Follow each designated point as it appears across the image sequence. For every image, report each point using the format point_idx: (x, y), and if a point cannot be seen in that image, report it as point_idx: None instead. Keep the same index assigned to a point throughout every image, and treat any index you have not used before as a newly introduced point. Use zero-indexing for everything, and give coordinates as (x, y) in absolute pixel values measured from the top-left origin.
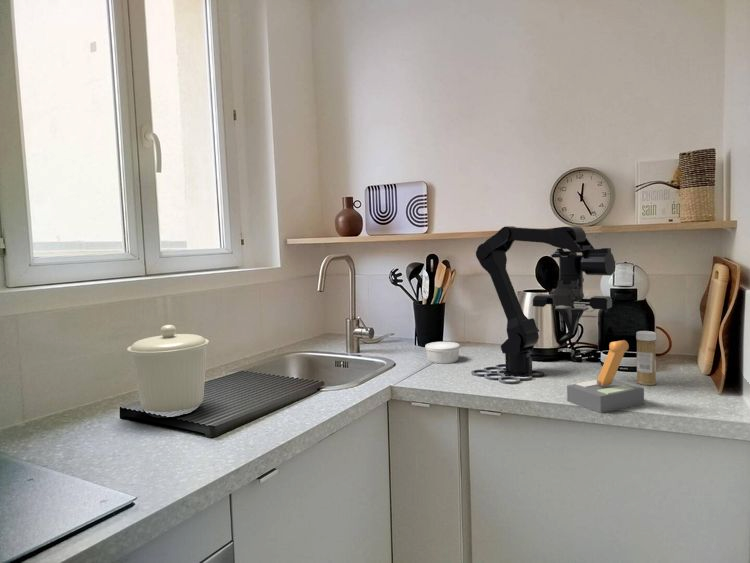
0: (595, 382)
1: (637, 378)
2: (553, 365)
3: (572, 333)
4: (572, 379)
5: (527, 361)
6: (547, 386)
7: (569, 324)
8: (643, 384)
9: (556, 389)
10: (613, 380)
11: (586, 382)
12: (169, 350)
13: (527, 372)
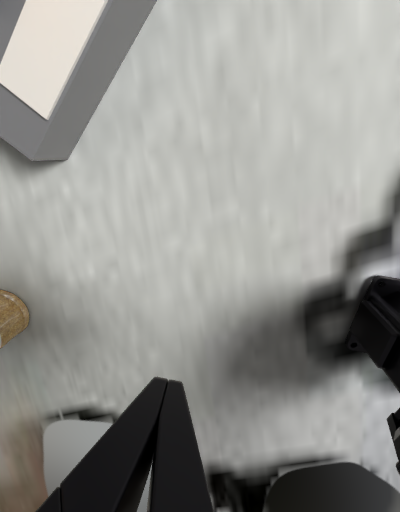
0: (49, 29)
1: (16, 313)
2: (281, 427)
3: (152, 381)
4: (206, 293)
5: (393, 327)
6: (281, 173)
7: (155, 472)
8: (6, 291)
9: (243, 140)
10: (4, 127)
11: (86, 9)
12: None
13: (368, 301)
